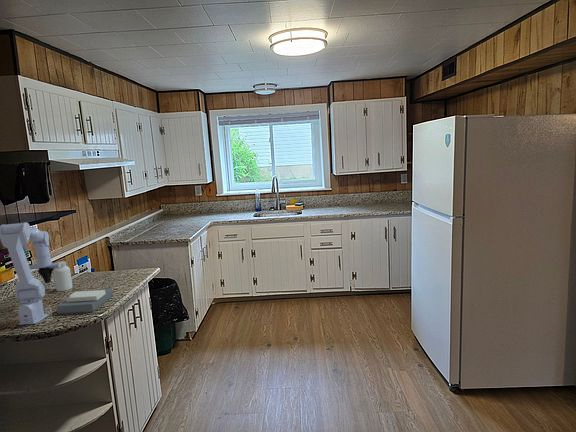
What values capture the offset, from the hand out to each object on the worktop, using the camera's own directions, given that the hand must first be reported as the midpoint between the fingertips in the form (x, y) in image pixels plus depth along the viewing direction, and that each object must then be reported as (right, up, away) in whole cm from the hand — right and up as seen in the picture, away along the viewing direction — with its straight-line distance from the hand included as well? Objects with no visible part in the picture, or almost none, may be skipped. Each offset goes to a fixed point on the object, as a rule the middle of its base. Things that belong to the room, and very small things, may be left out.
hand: (48, 282), depth 191 cm
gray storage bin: (+22, -10, -5) cm, 24 cm away
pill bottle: (-4, -7, +22) cm, 23 cm away
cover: (+23, -6, -7) cm, 25 cm away
